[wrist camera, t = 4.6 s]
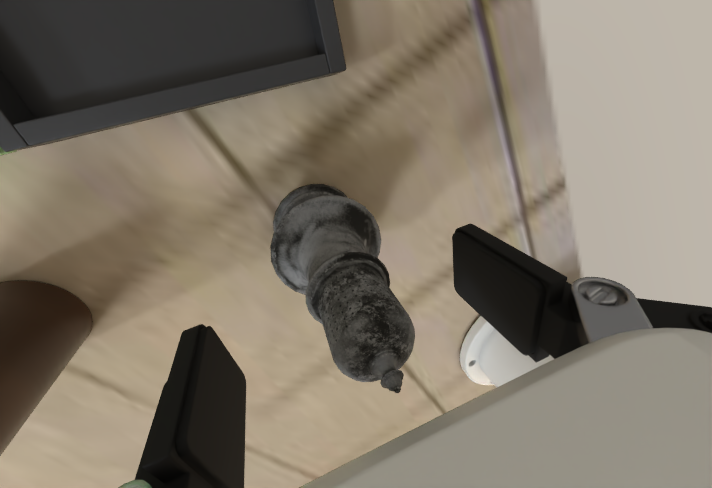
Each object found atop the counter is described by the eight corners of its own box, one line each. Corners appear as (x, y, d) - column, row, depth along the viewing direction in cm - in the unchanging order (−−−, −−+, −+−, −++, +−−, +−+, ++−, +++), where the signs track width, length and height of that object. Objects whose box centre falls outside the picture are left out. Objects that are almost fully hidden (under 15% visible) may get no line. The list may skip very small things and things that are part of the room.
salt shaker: (264, 264, 18) (274, 483, 8) (272, 172, 15) (300, 304, 5) (351, 266, 20) (452, 439, 10) (369, 185, 18) (525, 298, 7)
